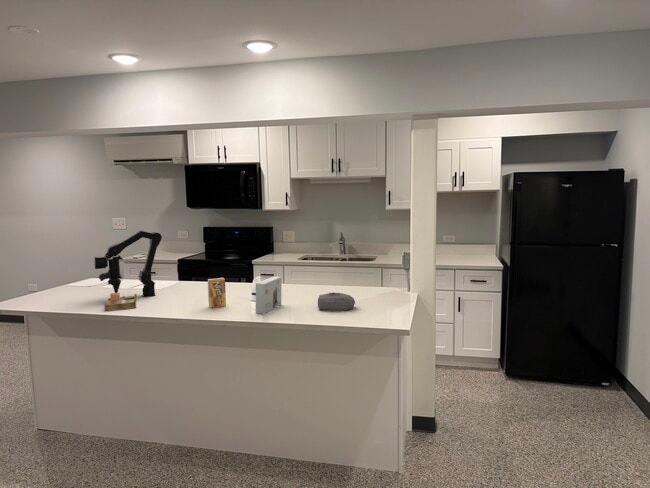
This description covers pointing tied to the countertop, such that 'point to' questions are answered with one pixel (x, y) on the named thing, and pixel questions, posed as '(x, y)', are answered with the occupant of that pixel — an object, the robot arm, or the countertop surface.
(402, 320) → the countertop surface
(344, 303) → the small grey backpack
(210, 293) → the candy box
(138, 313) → the countertop surface
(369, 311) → the countertop surface
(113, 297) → the block
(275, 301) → the skincare box
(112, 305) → the trap board
